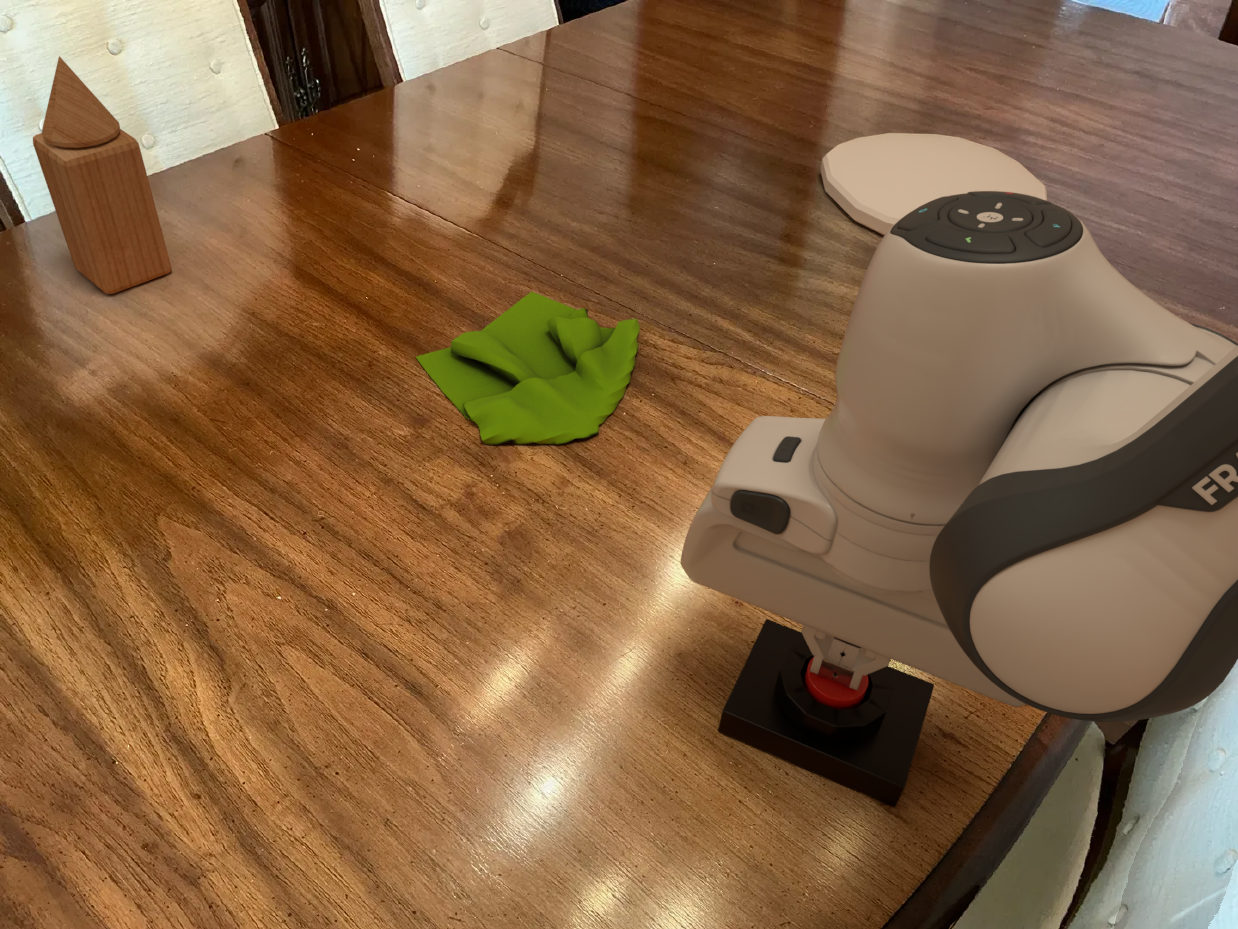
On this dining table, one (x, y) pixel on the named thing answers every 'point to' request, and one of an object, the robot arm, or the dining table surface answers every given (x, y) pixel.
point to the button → (834, 690)
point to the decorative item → (99, 189)
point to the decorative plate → (915, 174)
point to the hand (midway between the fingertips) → (836, 673)
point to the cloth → (537, 372)
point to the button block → (827, 718)
